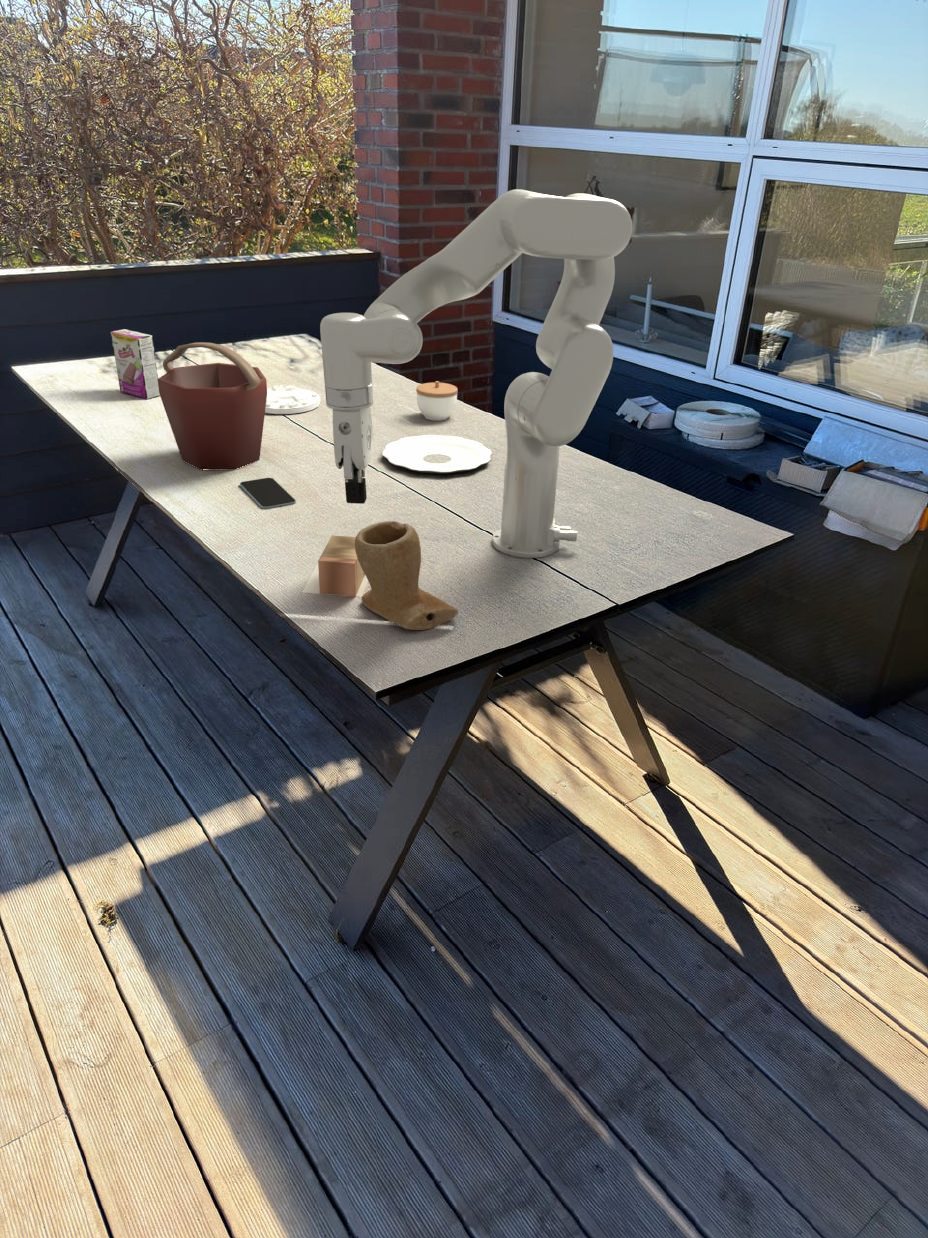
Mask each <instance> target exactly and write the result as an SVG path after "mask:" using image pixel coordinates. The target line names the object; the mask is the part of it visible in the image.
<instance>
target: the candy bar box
mask: <svg viewBox="0 0 928 1238" xmlns="http://www.w3.org/2000/svg"><path fill="white" fill-rule="evenodd" d="M110 337H111V343H112V349H113V355H114V361H115V366H116V367H115V368H116V372H117V379H118V384H119V385H118V386H119V392H120V393H123V394H125V395H130V396H133V397H137V398H141V399H145V400H151V399H154V398H155V399H156V398H158V397H160V394H159V388H158V380H157V379H159V376H158V369H157V362H156V356H155V347H154V341H153V340H154V339H153V335H151V334H147V333H143V332H139V331H134V330H131V329H125V328H123V329H118V330H113V331H110Z"/></svg>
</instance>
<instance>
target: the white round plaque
mask: <svg viewBox="0 0 928 1238" xmlns="http://www.w3.org/2000/svg"><path fill="white" fill-rule="evenodd" d="M320 404H321V396H320V395H319V394H318V392H315V391H312V390H309V389H305V388H298V387H296V385H286V386H285V387H284V385H281V384H279V385H272V386H271V387H269V388H268V387H267V399H266V408H265V414H272V415H273V414H274V415H289V414H290V415H293V414H298V413H300V414H301V413H304V412H305V413H306V412H309V411H312V410H314V409H317V408H318V407H319V406H320Z"/></svg>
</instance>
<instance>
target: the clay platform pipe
mask: <svg viewBox="0 0 928 1238" xmlns="http://www.w3.org/2000/svg"><path fill="white" fill-rule="evenodd" d="M355 537H356V539H355V551H356V555H357V558H358V561H359V563H360V566H361V568H362V570H363V572H364V573H365V575H366V577H367V579H368V584H369V586H370V590H368V591H366V592H364V593H363V596H362V597H361V602H362V604H363V605H364V606H365V607H366V608H368V610H370V611H371V612H372V613H374V614H376V615H378V616H380V617H382V618H384V619H385V620H387V621H389V622H391V623H393V624H395V625H397V626H399V627H401V628H403V629H404V630H415V631H424V630H425V631H426V630H430V629H432V628H435V627H438V626H441V625H443V624H445V623H447V622H449V621H450V620H451V619H453V618H455V617H456V616H457V615H458V613H459V611H458V609H457V608H455V607H454V606H452V605H450V604H449V603H447V602H446V601H444V600H442V599H440V598H438V597H437V596H434V595H432V594H431V593H428V592H426V591H425V590H423V589H421V588H419V587H420V586H419V579H420V572H421V571H420V570H421V565H422V548H421V542H420V538H419V535H418V532H417V530H416V529H415V528H414V527H413V526H412V525H410V524H409V523H403V522H398V521H394V520H385V521H380V522H375V523H373V524H371V525H368V526H366V527H364V528H362V529H361V530H360V531H359V532H358V533H357V535H356V536H355Z"/></svg>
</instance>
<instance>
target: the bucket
mask: <svg viewBox="0 0 928 1238" xmlns="http://www.w3.org/2000/svg"><path fill="white" fill-rule="evenodd" d="M189 348H190V349H191V348H202V349H209V350H212V351H215V352H217V353H219V354H220V355H222V356H224V357H225V358H226V359H228V360H229V361H231V362H232V363H233V364H232V363H225V362H224V363H223V362H213V363H212V362H211V363H205V364H195V365H187V366H178V367H174V366H173V365H172V364H171V363H172V362H173V361H175V360H178V359H179V358H180V357H182V356H183V355H184V354H185V353H186V351H187V350H188V349H189ZM162 368H163V370H164V371H165V372H166V373H164V374H162V376H160V377H158V379H157V380H158V388H159V394H160V396H159V397H160V399H161V402H162V405H163V409H164V411H165V413H166V416H167V420H168V422H169V425H170V426H169V427H170V429H171V431H172V434H173V437H174V440H175V443H176V446H177V448H178V449H177V450H178V451H179V455H180V457H181V460H183V461H185V462H187V463H189V464H191V465H193V466H192V467H194V466H195V467H194V468H196V467H197V468H196V469H198V468H199V469H198V470H200V469H202V470H201V471H204V470H203V469H237V468H239V469H241V468H243V467H242V466H244V467H246V466H248V465H247V464H249V465H251V464H253V463H252V462H254V463H255V461H256V462H258V461H260V458H261V451H262V450H261V448H262V441H263V431H264V426H265V425H264V422H265V414H266V413H265V408H266V399H267V388H268V385H267V378H266V376H265V375H264V374H263V372H262V371H261V370H260V368H259V367H257V366H256V367H255V366H252V365H251V364H250V363H249V362H248V361H247V360H246V359H245V358H244V357H242V355H240V354H239V353H237V352H236V351H235V350H232V349H231V348H229V347H228V346H225V345H221V344H218V343H213V342H205V341H204V342H193V343H187V344H186V343H185V344H182V345H178V346H177V347H176V348H175V349H174V350H173V351H172V352H171V353H170V355H168V356H166V358H165V359H164V360H163V361H162ZM183 461H182V462H183ZM185 462H184V463H185ZM187 463H186V464H187ZM250 463H251V464H250ZM189 464H188V465H189ZM191 465H190V466H191ZM245 465H246V466H245ZM240 467H241V468H240ZM237 470H238V469H237Z"/></svg>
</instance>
